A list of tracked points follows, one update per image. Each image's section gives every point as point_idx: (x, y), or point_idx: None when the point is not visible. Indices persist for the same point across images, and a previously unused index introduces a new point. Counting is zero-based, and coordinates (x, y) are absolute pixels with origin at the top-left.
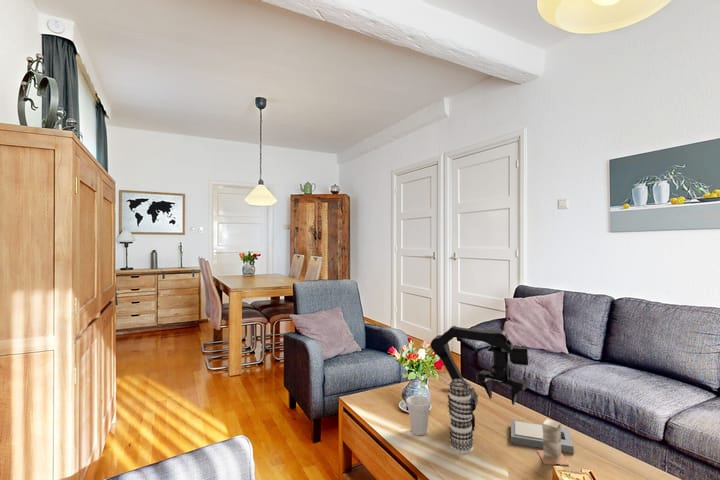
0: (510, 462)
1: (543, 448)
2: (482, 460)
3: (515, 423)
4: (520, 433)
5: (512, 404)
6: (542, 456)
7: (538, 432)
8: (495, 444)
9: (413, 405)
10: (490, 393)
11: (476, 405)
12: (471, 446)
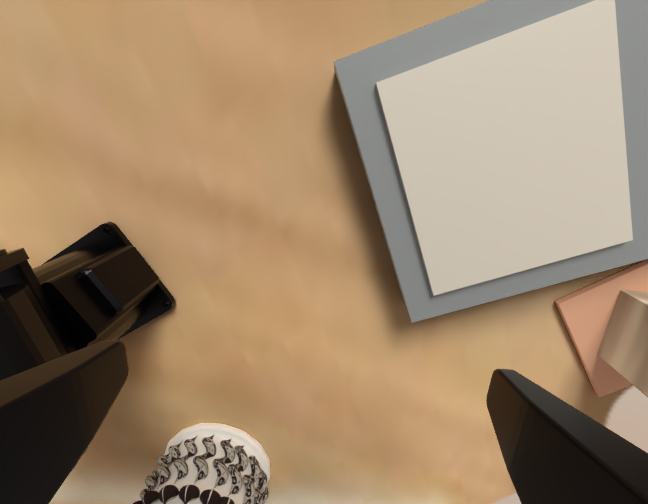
0: (447, 456)
1: (638, 388)
2: (338, 499)
3: (392, 126)
4: (464, 264)
5: (495, 414)
6: (590, 349)
7: (590, 168)
8: (336, 362)
9: None
10: (61, 439)
11: (54, 353)
12: (261, 478)
